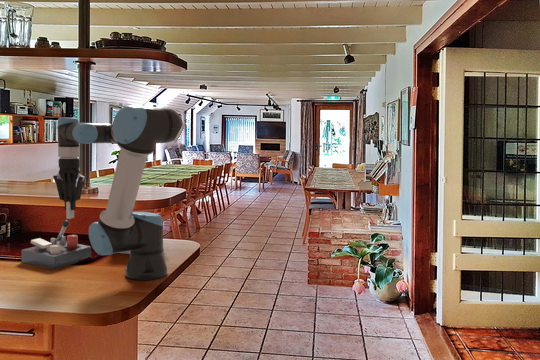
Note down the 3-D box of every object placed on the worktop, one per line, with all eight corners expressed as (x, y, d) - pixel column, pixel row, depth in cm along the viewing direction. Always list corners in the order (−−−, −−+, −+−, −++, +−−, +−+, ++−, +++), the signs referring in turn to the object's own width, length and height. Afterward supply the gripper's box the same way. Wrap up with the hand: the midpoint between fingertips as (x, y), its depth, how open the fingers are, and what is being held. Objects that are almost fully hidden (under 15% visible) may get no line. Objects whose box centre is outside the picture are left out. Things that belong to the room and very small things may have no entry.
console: (91, 258, 192) (91, 239, 191) (54, 269, 176) (53, 249, 175) (59, 251, 199) (59, 233, 198) (21, 262, 183) (21, 242, 182)
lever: (63, 240, 192) (72, 222, 190) (58, 242, 190) (66, 223, 187) (59, 236, 193) (67, 218, 190) (53, 238, 191) (61, 219, 188)
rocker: (51, 246, 185) (51, 243, 185) (42, 248, 182) (43, 245, 181) (39, 240, 188) (39, 238, 188) (30, 243, 184) (30, 240, 184)
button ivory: (63, 258, 183) (63, 245, 182) (55, 260, 179) (54, 248, 179) (56, 256, 184) (56, 244, 184) (47, 259, 181) (47, 246, 180)
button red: (79, 247, 190) (79, 235, 189) (71, 249, 186) (71, 237, 186) (72, 246, 191) (72, 234, 191) (64, 248, 188) (64, 236, 187)
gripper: (89, 157, 183) (90, 217, 185) (60, 156, 186) (61, 215, 188) (78, 159, 175) (79, 220, 178) (47, 157, 178) (49, 218, 181)
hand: (70, 218), depth 183 cm, fingers closed
